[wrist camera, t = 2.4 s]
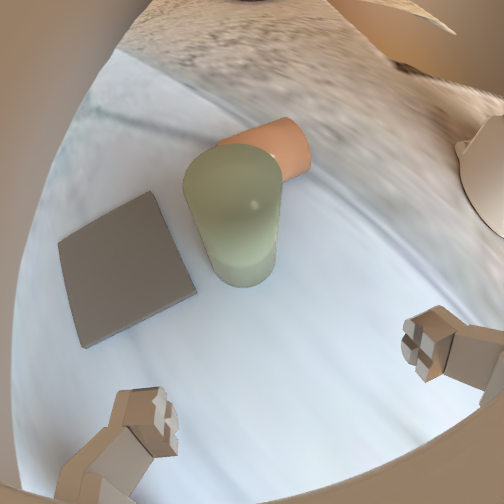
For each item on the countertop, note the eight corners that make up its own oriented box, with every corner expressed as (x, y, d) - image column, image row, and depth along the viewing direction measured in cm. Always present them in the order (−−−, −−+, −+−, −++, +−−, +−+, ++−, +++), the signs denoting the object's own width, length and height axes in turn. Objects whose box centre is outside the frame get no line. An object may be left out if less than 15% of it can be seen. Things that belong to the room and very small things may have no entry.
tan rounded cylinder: (271, 125, 30) (293, 109, 24) (293, 175, 31) (319, 169, 26) (212, 148, 29) (222, 134, 23) (236, 200, 30) (251, 199, 24)
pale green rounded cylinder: (256, 220, 28) (252, 132, 18) (287, 268, 25) (302, 193, 16) (202, 246, 27) (169, 167, 17) (229, 299, 25) (206, 238, 15)
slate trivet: (153, 194, 29) (150, 190, 29) (197, 292, 25) (195, 290, 24) (61, 246, 27) (57, 243, 27) (86, 348, 23) (81, 347, 22)
